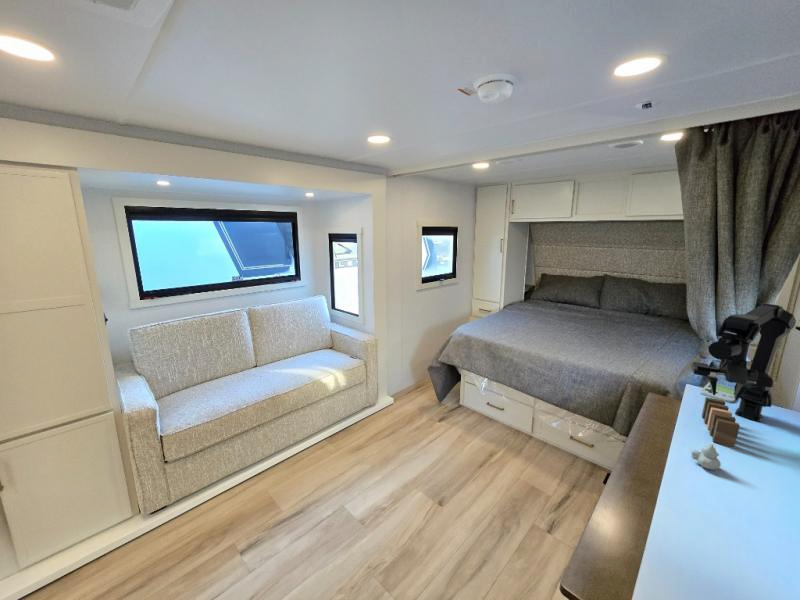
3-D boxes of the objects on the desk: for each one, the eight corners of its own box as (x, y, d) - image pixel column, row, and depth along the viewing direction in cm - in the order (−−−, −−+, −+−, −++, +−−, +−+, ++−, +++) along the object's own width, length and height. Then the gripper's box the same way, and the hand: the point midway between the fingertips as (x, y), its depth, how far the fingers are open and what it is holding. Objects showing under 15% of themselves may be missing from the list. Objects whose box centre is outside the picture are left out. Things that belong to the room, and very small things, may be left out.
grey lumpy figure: (719, 476, 93) (724, 452, 91) (688, 465, 98) (693, 441, 96) (719, 466, 97) (724, 442, 95) (689, 455, 101) (694, 433, 100)
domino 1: (701, 416, 122) (705, 397, 120) (719, 420, 119) (724, 400, 117) (702, 418, 121) (706, 398, 119) (720, 422, 118) (725, 402, 116)
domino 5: (712, 439, 109) (717, 418, 107) (732, 444, 106) (738, 423, 104) (713, 442, 107) (718, 420, 106) (734, 447, 105) (739, 425, 103)
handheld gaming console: (699, 391, 137) (709, 381, 146) (699, 394, 138) (708, 384, 146) (732, 401, 129) (740, 389, 138) (732, 404, 130) (740, 393, 138)
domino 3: (706, 427, 115) (711, 407, 113) (725, 432, 113) (730, 411, 111) (707, 429, 114) (712, 409, 112) (727, 434, 111) (732, 413, 109)
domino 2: (703, 421, 119) (708, 401, 117) (722, 426, 116) (727, 405, 114) (705, 423, 117) (709, 403, 115) (723, 428, 115) (728, 407, 113)
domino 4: (709, 433, 112) (713, 412, 110) (729, 438, 109) (734, 416, 108) (710, 435, 111) (715, 414, 109) (730, 440, 108) (735, 419, 106)
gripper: (702, 356, 105) (693, 400, 109) (786, 369, 95) (773, 416, 99) (695, 345, 114) (686, 386, 118) (771, 356, 104) (760, 400, 108)
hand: (724, 396), depth 110 cm, fingers open, 5 cm apart
